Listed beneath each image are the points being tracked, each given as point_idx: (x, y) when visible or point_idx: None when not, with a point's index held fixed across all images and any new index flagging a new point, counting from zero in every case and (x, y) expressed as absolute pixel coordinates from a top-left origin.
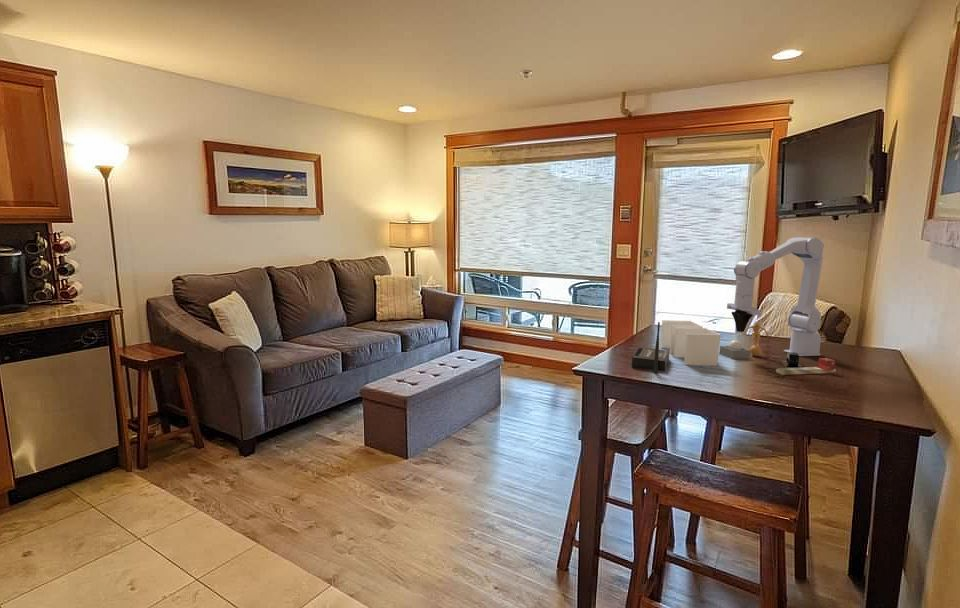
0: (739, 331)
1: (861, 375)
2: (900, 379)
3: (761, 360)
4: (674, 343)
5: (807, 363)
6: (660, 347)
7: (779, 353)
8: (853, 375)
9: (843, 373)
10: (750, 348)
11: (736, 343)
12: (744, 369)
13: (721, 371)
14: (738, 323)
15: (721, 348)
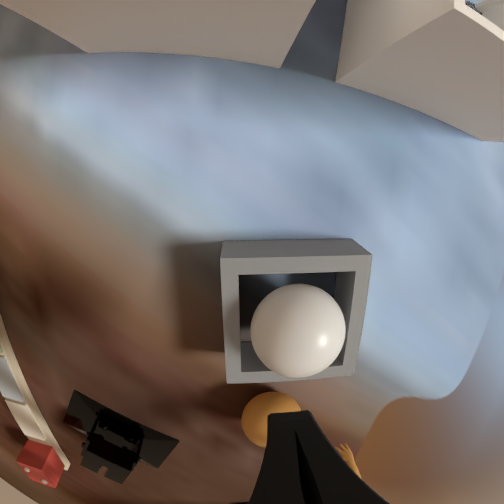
0: (268, 418)
1: None
2: (42, 500)
3: (178, 376)
4: None
5: (144, 477)
6: (483, 10)
7: None
8: None
9: None
10: (284, 409)
11: (270, 334)
12: (14, 166)
13: (9, 36)
14: (282, 481)
15: (349, 250)
